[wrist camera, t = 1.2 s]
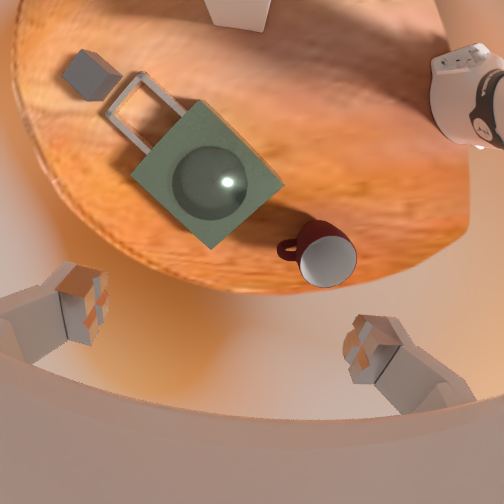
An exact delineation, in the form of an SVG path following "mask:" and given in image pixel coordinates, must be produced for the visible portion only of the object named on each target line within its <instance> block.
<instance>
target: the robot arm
mask: <svg viewBox="0 0 504 504" xmlns="http://www.w3.org/2000/svg"><path fill="white" fill-rule="evenodd" d="M442 62H443V64H442ZM431 68H432V75H433V78H432V84H431V89H430V104H431V110H432V113H433V116H434V119H435V121H436V123H437V125H438V127H439V129H440V130H441V131H442V133H443V134H444V135H445V136H446V137H447V138H449V139H450V140H452V141H453V142H456V143H459V144H470V145H471V146H473V147H475V148H476V149H483V148H484V147H487V148H494V149H499V150H504V61H503V59H502V58H501V57H500V56H498V55H496V54H491V53H490V51H489V50H488V49H487V48H486V47H485V46H484V45H483V44H481V43H475V44H472V45H469V46H466V47H463V48H460V49H457V50H454V51H451V52H449V53H446V54H443V55H440V56H438V57H435V58H433V59H432V61H431ZM108 283H109V281H108V273H107V272H106V271H105V270H101V269H97V268H93V267H89V266H85V265H81V264H78V263H73V262H69V261H65V262H63V263H62V264H61V265H60V266H59V267H58V268H57V269H56V270H55V271H54V272H53V273H52V274H51V276H49V277H48V278H47V280H46V281H45V282H44V283H43V284H42V285H41V286H39V285H35V286H33V287H30V288H27V289H24V290H22V291H19V292H16V293H13V294H10V295H8V296H5V297H2V298H0V504H504V394H501V395H497V396H494V397H490V398H487V399H483V400H479V401H477V400H476V398H475V396H474V395H473V393H472V391H471V390H470V388H469V387H468V385H467V383H466V382H465V380H464V379H463V378H462V377H460V376H459V375H458V374H456V373H455V372H453V371H452V370H451V369H449V368H448V367H446V366H445V365H444V364H442V363H441V362H439V361H438V360H437V359H435V358H434V357H433V356H431V355H430V354H428V353H427V352H426V351H424V350H423V349H421V348H420V347H418V346H415V345H414V344H413V342H412V340H411V338H410V337H409V335H408V334H407V332H406V330H405V329H404V327H403V326H402V324H401V323H400V321H399V320H398V319H397V318H396V317H385V316H383V317H382V316H370V315H360V314H359V315H358V316H357V317H356V318H355V320H354V322H353V328H354V329H353V330H352V331H351V332H349V333H348V334H347V335H346V338H345V340H344V343H343V356H344V359H345V360H346V361H347V362H348V363H349V364H350V367H349V369H348V370H349V372H350V376H351V378H352V381H353V384H375V385H374V386H375V387H376V388H377V389H378V390H379V391H380V392H381V393H382V394H383V395H384V396H385V397H386V399H387V400H388V401H389V402H390V403H391V404H392V405H393V406H394V407H395V408H396V409H397V410H398V411H399V412H400V414H401V415H396V416H386V417H375V418H363V419H342V420H288V419H268V418H254V417H242V416H232V415H224V414H216V413H215V414H214V413H208V412H202V411H195V410H189V409H183V408H177V407H172V406H167V405H162V404H157V403H152V402H148V401H144V400H139V399H135V398H131V397H127V396H123V395H119V394H115V393H112V392H108V391H105V390H101V389H98V388H95V387H92V386H88V385H85V384H82V383H79V382H76V381H73V380H70V379H68V378H65V377H62V376H59V375H56V374H54V373H51V372H49V371H46V370H43V369H41V368H38V367H36V366H34V365H32V364H33V363H35V362H36V361H38V360H39V359H41V358H42V357H44V356H45V355H47V354H48V353H50V352H51V351H53V350H55V349H56V348H58V347H59V346H61V345H62V344H64V343H65V342H67V340H71V341H75V342H78V343H82V344H86V345H89V346H92V344H93V342H94V340H95V338H96V335H97V334H98V332H99V330H98V325H100V324H102V323H104V321H105V319H106V317H107V314H108V310H109V294H108V292H107V291H106V289H105V288H106V287H107V285H108Z"/></svg>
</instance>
